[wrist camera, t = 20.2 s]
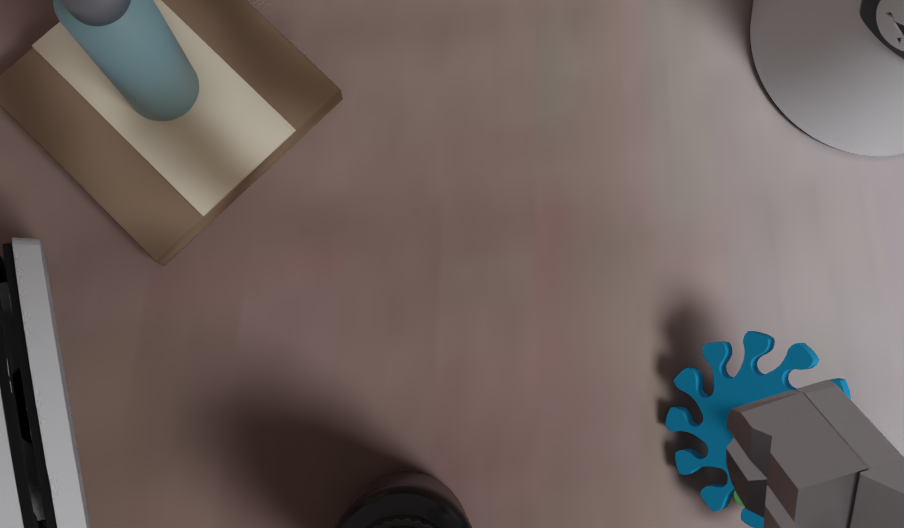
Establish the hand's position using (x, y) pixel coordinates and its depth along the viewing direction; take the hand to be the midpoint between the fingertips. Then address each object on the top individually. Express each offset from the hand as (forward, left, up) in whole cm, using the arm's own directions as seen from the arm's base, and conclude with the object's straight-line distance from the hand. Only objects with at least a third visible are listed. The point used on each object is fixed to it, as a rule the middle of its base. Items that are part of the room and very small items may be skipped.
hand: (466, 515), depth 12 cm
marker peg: (-4, -24, -33) cm, 41 cm away
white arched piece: (+13, -16, -35) cm, 40 cm away
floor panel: (-4, -24, -34) cm, 42 cm away
